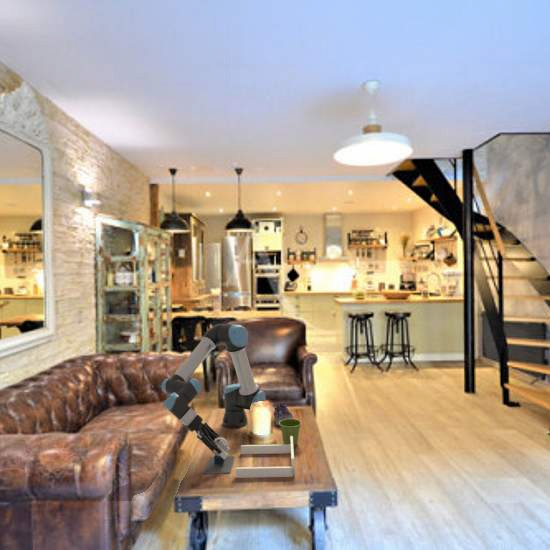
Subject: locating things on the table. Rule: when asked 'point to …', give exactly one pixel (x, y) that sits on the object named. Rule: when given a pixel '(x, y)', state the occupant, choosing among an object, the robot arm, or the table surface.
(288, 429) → the plant pot
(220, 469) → the mat
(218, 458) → the watch
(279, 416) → the geode
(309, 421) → the table surface
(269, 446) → the shelf lane
